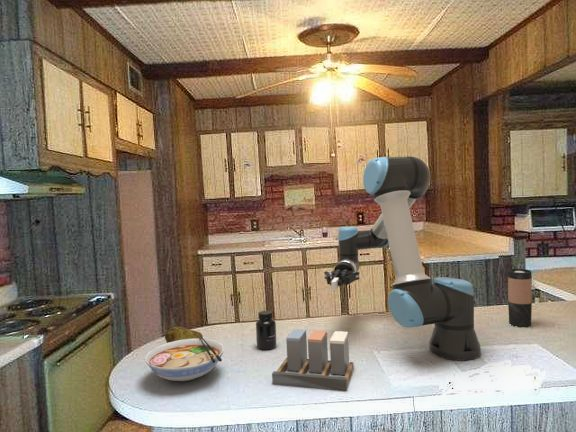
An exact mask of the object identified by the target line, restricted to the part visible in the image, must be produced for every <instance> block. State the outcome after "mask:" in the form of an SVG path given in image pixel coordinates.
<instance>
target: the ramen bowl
mask: <svg viewBox="0 0 576 432" xmlns="http://www.w3.org/2000/svg"><path fill="white" fill-rule="evenodd" d="M199 335H200V334H199ZM199 335H198V337H199ZM200 336H201V335H200ZM202 336H203V335H202ZM202 336H201V338H202ZM199 338H200V337H199ZM201 338H200V339H184V340H178V341H173V342H169V343H167V342H166V343H163V344H160V345H158V346H156V347H154V348H152V349H151V350H150V351H147V353H146V354H145V357H144V359H143V360H144V362H145V363H146V365H147V366H148V367H149V368H150V369H151V371H152V372H153V373H154V374H155V375H156V376H157V377H159V378H162V379H166V380H168V381H173V382H174V381H175V382H176V381H177V382H189V381H193V380H195V379H197V378H200V377H202V376H204V375H206V374H208V373H209V372H211V371H212V370H213V369H214V367H215V366H216V365H217V364H218V363H219V362H222V361H223V359H222V356H223V354H224V350H225V349H224V344H223V343H220V342H219V341H218V340H214V339H209V338H204V337H203V338H202V339H201Z"/></svg>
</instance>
